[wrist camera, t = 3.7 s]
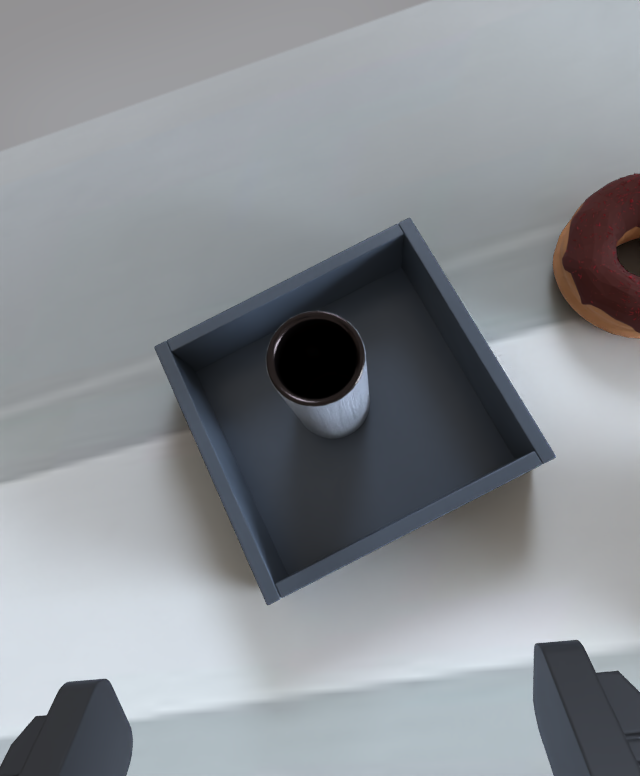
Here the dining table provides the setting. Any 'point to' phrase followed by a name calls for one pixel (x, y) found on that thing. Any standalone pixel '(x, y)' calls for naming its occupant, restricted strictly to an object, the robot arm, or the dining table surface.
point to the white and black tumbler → (321, 372)
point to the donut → (602, 258)
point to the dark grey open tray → (377, 433)
